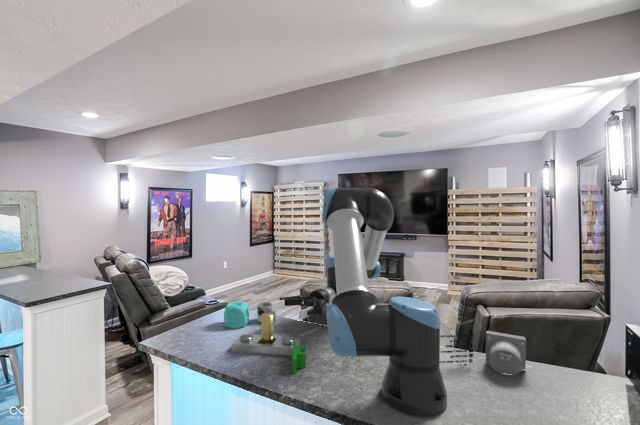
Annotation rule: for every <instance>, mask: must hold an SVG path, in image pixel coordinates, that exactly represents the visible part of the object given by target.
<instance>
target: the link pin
mask: <svg viewBox="0 0 640 425" xmlns="http://www.w3.org/2000/svg"><path fill="white" fill-rule="evenodd" d="M274 324H275V322H274V314H273V313H263V314H261V323H260V335H261V344H273V343H274V336H275V335H274V333H275V332H274V331H275V330H274V326H275V325H274Z"/></svg>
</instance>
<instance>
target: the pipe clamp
mask: <svg viewBox="0 0 640 425" xmlns="http://www.w3.org/2000/svg"><path fill="white" fill-rule="evenodd" d="M306 356H307V353H306V346H305V345H303V346H302V345H301V346H296V342H292V356H291V358H292V362H291V363H292V364H291V365H292V368H291V369H292V375H296V374H298V373H297V371H298V370H297V369H306V364H307V359H306V358H307V357H306Z"/></svg>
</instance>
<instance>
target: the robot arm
mask: <svg viewBox="0 0 640 425" xmlns="http://www.w3.org/2000/svg"><path fill="white" fill-rule="evenodd" d="M322 206H323V207H322V214H321V215H322V216H321V217H322V218H321V222H322V223H325V224H326V226H327V227H328V229H329V230H330V231H331V233H332V242H333V243H332V245H333V255H329V256H328V257H327V263H326V271H327V272H326V275H327V276H326V278H327V280H326V286H323V287H320V288H318V289H314V290H312V291H311V292H310V294H309V295H306V296H305V295H303V294H299V295H298V294H297V295H293V296H285V297H283V296H282V297H279V300H278V301H274V302H271V311H275V312H276V311H278V310H280V309H284V308H285V307H292V306H293V307H294V306H299V307H307V308H304V309H301V310H299V313H298V318H299V320H303V319H306V318H308V317H311V316H313V315H315V316H317V315H319V316H323V315H324V313H325V312H326V315H325V316H326V317H325V318H326V323H327V324H326V326H327V333H328V340H329V344H330V347H331V350H332V352H333V353H334V354H335V356H338V357H349V358H352V359H353V358H359V357H389V358H388V365H387V366H386V370H385V374H384V375H383V378H382V381H381V396H382V398H383V400H384V401H385V403H386V404H387V405H388V406H390V407H391V408H392V409H393V410H396V411H398V412H400V413H403V414H407V415H410V416H415V417H432V416H436V415H440V414H441V413H443V412H444V411H445V410H446V408H447V406H448V392H447V391H448V390H447V389H446V384H445V382H444V379H443V376H442V373H441V369H440V363H439V361H440V360H441V358H440V355H441V350H440V349H441V348H440V346H441V344H440V343H441V337H440V336H441V321H440V311H439V310H438V308H437V307H436V306H434V305H433V304H432V303H430V302H427V301H425V300H422V299H418V298H414V297H409V296H408V297H407V296H392V297H390V298H389V301H388V304H379V303H378V298H377V295H376V293H374V292H372V291H371V290H370V284H369V279H371V280H372V279H377V278H380V276H381V271H382V270H381V264H380V261H379V258H380V255H381V251H382V248H383V245H384V241H385V239H386V235H387V232H388V230H390V229H392V228H391V227H392V226H393V223H394V218H395V217H394V216H395V212H394V207H393V205H392V202H391V201H390V199H389V197H388V196H387V195H386V194H385V193H384V192H382V191H381V190H379V189H376V188H373V187H342V186H341V187H339V186H336V187H328V188H326V189H325V191H324V196H323V205H322ZM364 224H366V226H365V229H364V235H363V238H362V233H361V228H362V227H363V225H364Z"/></svg>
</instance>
